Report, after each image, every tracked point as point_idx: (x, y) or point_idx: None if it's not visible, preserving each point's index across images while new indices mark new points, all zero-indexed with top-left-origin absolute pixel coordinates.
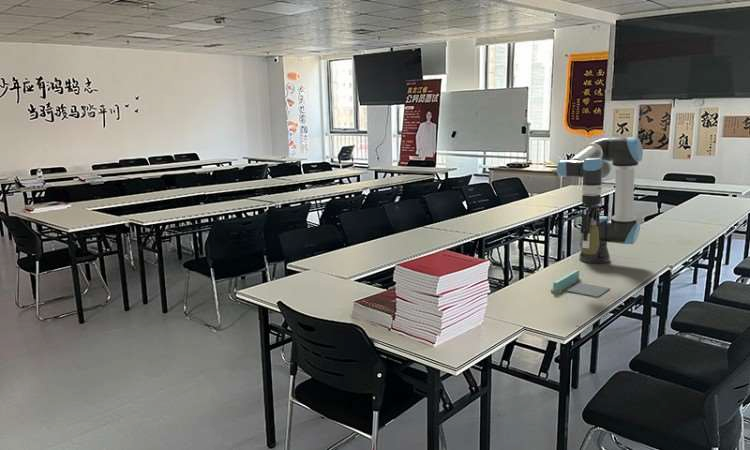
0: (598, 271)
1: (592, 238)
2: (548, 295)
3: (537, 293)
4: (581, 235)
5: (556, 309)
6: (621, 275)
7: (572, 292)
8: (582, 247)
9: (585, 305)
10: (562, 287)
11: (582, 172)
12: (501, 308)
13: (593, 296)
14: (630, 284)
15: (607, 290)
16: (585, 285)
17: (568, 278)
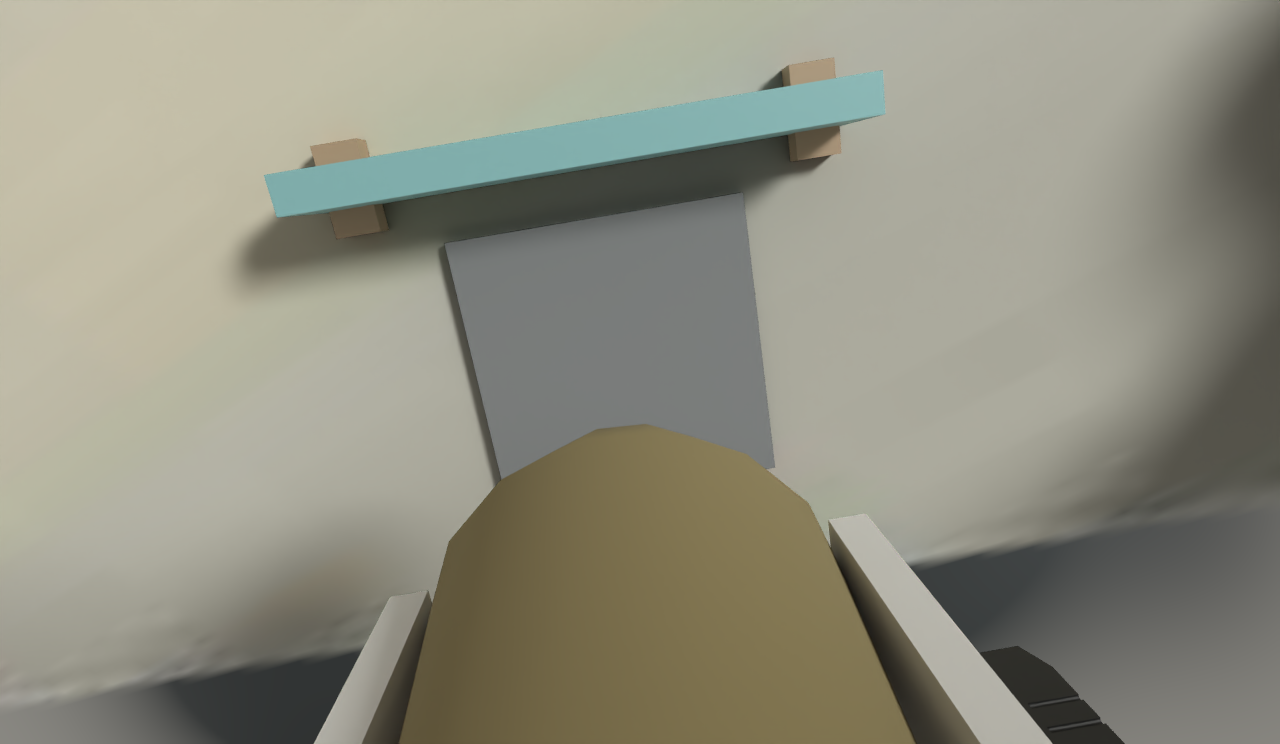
0: (1248, 95)
1: None
2: (229, 185)
3: (185, 66)
4: (460, 669)
5: (11, 446)
6: (1217, 327)
7: (459, 302)
8: (391, 600)
9: (282, 539)
10: (448, 191)
11: None
12: None
13: (503, 476)
14: (998, 503)
15: None
16: (702, 285)
17: (586, 165)
